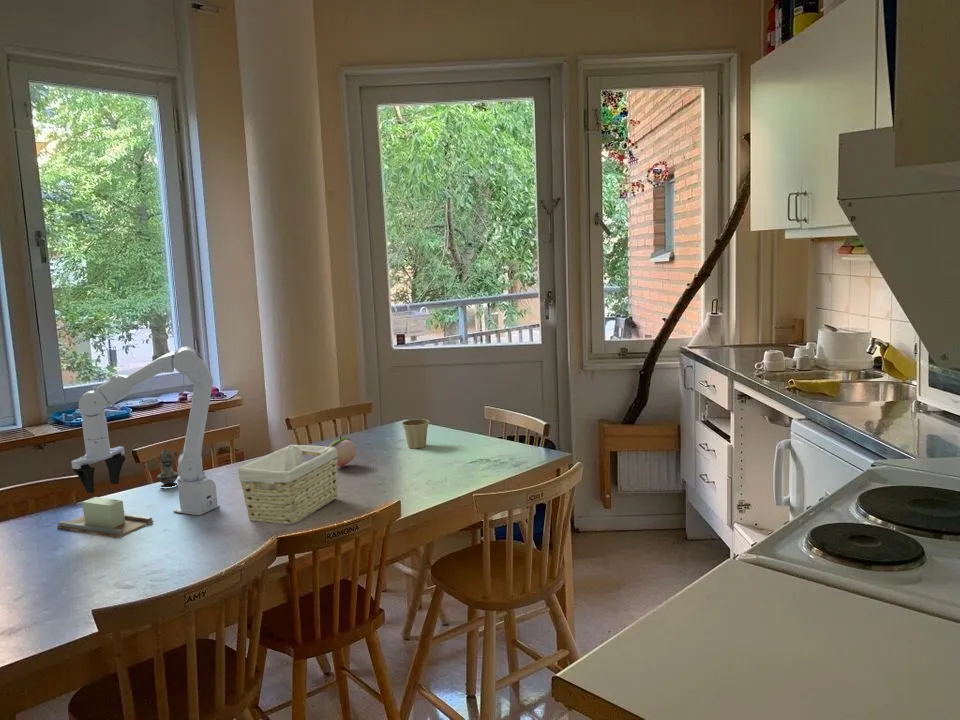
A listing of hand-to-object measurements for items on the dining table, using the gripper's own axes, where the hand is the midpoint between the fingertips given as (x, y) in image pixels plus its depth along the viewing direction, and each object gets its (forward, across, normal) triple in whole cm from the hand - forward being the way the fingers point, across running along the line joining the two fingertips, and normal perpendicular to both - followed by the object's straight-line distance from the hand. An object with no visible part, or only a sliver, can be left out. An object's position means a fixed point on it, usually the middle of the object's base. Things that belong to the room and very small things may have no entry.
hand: (102, 488), depth 203 cm
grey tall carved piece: (+10, -29, -8) cm, 32 cm away
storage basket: (+10, -23, +43) cm, 49 cm away
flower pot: (+10, -89, +44) cm, 100 cm away
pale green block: (+9, +2, +1) cm, 9 cm away
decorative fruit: (+10, -61, +33) cm, 70 cm away
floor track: (+9, +2, +2) cm, 10 cm away
